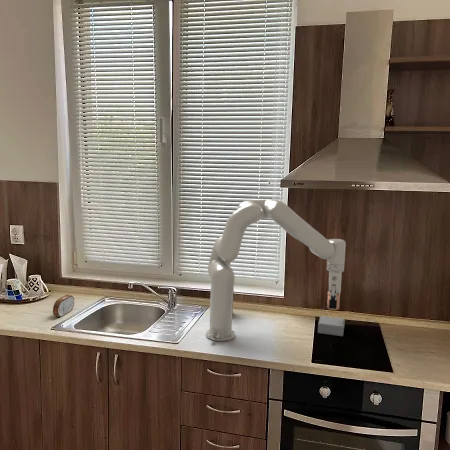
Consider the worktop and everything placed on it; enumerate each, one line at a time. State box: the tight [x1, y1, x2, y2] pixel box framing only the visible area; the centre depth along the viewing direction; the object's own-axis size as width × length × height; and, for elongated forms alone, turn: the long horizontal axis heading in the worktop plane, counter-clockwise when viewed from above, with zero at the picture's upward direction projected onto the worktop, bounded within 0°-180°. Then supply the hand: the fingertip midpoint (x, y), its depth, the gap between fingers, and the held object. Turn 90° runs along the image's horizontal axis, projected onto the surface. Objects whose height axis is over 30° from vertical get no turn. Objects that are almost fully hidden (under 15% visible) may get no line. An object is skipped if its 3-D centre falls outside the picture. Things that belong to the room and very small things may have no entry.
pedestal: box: [317, 315, 346, 337], centre depth 204 cm, size 11×11×4 cm
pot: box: [326, 290, 341, 311], centre depth 203 cm, size 6×6×7 cm
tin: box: [52, 294, 75, 318], centre depth 214 cm, size 15×3×8 cm, turn 168°
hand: (333, 305), depth 203 cm, fingers closed on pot, 5 cm apart
